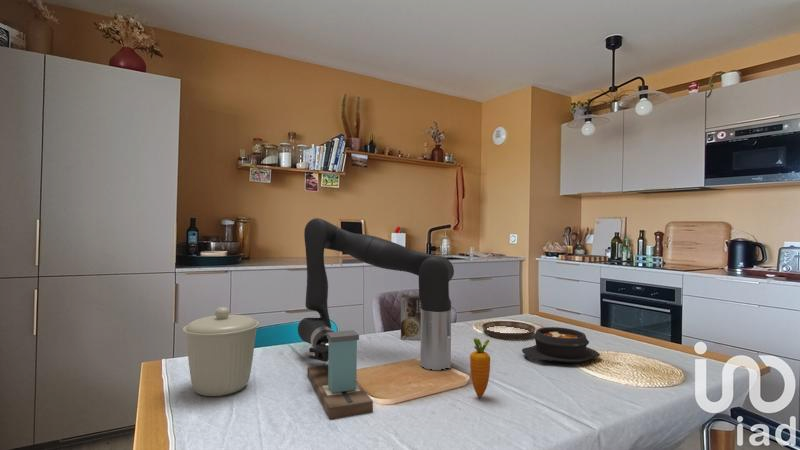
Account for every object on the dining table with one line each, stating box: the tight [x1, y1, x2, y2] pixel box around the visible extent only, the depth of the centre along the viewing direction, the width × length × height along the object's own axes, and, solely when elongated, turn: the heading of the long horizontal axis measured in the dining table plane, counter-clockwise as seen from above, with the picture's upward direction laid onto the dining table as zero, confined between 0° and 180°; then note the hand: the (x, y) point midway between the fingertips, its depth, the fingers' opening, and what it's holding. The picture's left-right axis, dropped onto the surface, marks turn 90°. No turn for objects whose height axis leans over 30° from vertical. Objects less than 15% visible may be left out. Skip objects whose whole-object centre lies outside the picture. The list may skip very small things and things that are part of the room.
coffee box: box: [400, 293, 421, 341], centre depth 156 cm, size 9×6×16 cm
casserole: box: [521, 326, 601, 364], centre depth 133 cm, size 25×19×8 cm
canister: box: [182, 306, 260, 397], centre depth 106 cm, size 18×18×21 cm
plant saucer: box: [481, 320, 537, 341], centre depth 163 cm, size 21×21×3 cm
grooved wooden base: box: [306, 364, 374, 420], centre depth 104 cm, size 28×10×3 cm, turn 22°
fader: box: [327, 329, 360, 393], centre depth 99 cm, size 5×7×13 cm
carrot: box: [469, 337, 491, 399], centre depth 101 cm, size 5×5×15 cm
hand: (340, 360), depth 101 cm, fingers closed
